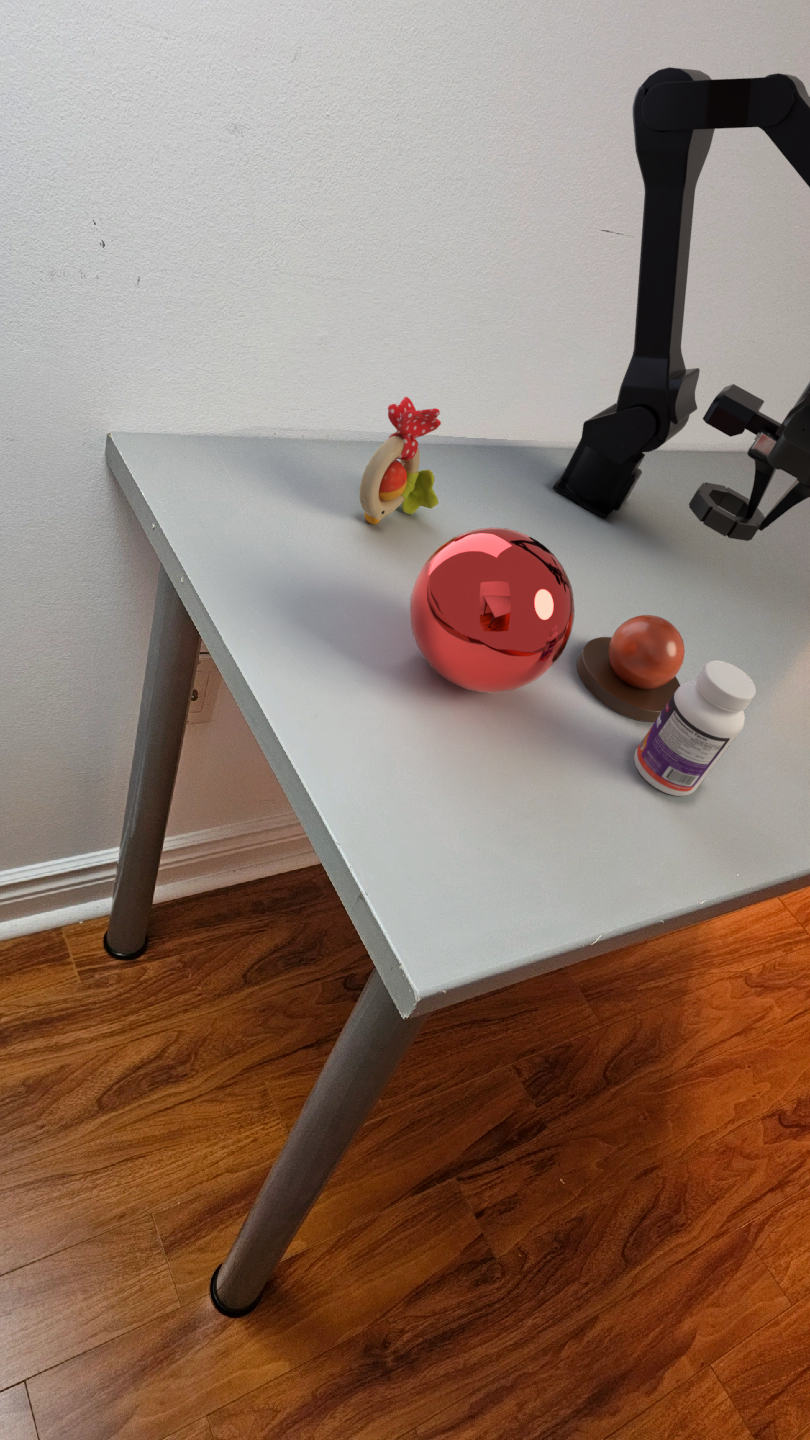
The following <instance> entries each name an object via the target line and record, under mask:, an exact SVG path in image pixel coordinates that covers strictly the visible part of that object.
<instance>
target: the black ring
mask: <svg viewBox="0 0 810 1440" xmlns="http://www.w3.org/2000/svg"><path fill="white" fill-rule="evenodd" d="M749 500H750V498H748V497H747V496H745V495H743V494H741V493H740V492H738V491H736V490H734V489H732V488H731V487H729V486H727V487H726V485H722V484H717V483H712V482H702V483H701V484H700V485H699V487H698V489H697V490H696V491H695V493H694V495H693V496H692V498H691V499H690V501H689V503H688V508H689V509H690V511H691V512H692V513H693V514H694V516H695V517H696V518H697V520H698V521H699V522H701V523H703V525H704V526H706V527H707V528H709V529H711V530H713V531H715V532H717V533H718V534H720V535H722V537H727V538H728V539H731V540H739V541H745V542H749V541H752V540H753V539H754V537H755V535H756V534H757V532H758V531H759V527H760V526H761V524H762V522H763V520H764V519H765V517H766V516H765V514H764V513H763V512H762V511H761V510H760V509H759V507H758V508H757V509H756V511H755V513H754V514H753V516H752V517H751V518H750V519H748V518H745V516H746V512H747V508H748V504H749Z"/></svg>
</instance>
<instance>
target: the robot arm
mask: <svg viewBox="0 0 810 1440" xmlns="http://www.w3.org/2000/svg"><path fill="white" fill-rule="evenodd" d="M632 122H633V123H632V125H633V134H634V135H633V136H634V149H635V154H636V158H637V163H638V165H639V170H640V174H641V178H642V181H643V186H644V187H643V188H644V197H643V198H644V199H643V212H642V213H643V214H642V228H641V240H640V241H641V242H640V257H639V269H638V281H637V282H638V283H637V284H638V285H637V299H636V311H635V312H636V313H635V327H634V339H633V340H634V343H633V351H632V355H631V358H630V361H629V363H628V366H627V369H626V372H625V374H624V377H623V379H622V382H621V384H620V387H619V391H618V395H617V400H616V403H614V404H612V405H610V406H608V407H607V408H605V409H603V410H602V411H600V412H599V413H596V414H595V415H593V416H592V417H590V418H588V419H587V420H585V421H584V422H583V424H582V432H581V438H580V439H579V442H578V443H577V446H576V448H575V450H574V452H573V453H572V455H571V457H570V459H569V461H568V463H567V465H566V467H565V469H564V471H563V473H562V475H561V477H560V478H558V480H556V481H555V482H554V483H553V485H552V489H553V490H555V491H556V492H558V493H559V494H562V495H563V496H565V497H567V498H568V499H570V500H572V501H574V502H575V503H577V504H579V505H581V506H582V507H584V508H585V509H587V510H589V511H590V512H592V513H593V514H595V515H597V516H599V517H601V518H603V519H608V518H609V517H610V516H611V514H612V513H613V512H618V511H620V510H621V508H622V507H623V506H624V505H625V504H626V502H627V500H628V499H629V497H630V495H631V493H632V491H633V490H634V488H635V486H636V484H637V483H638V480H639V479H640V478H641V475H642V474H643V472H642V469H641V468H639V467H640V466H641V464H642V462H643V461H644V459H645V457H646V454H645V453H651V452H652V451H655V450H658V449H659V448H660V447H662V446H663V445H664V444H666V442H668V441H669V440H671V439H672V438H673V437H675V436H677V434H678V433H680V432H681V431H682V430H683V429H684V427H686V426H687V423H688V422H689V420H690V419H689V418H690V416H691V414H693V413H694V412H695V411H697V410H698V405H697V401H696V389H697V385H698V381H699V377H700V371H701V370H700V368H699V367H696V368H695V367H694V368H686V364H685V361H684V357H683V353H682V340H683V339H682V338H683V328H684V317H685V305H686V295H687V284H688V272H689V262H690V250H691V240H692V228H693V219H694V206H695V195H696V187H697V183H698V181H699V178H700V176H701V173H702V170H703V167H704V165H705V162H706V160H707V157H708V154H709V152H710V150H711V146H712V142H713V138H714V134H715V130H718V129H740V128H741V129H743V128H744V129H745V128H759V129H760V130H762V131H763V132H764V133H765V134H766V135H767V137H768V138H769V139H770V141H771V142H772V143H773V144H774V146H776V148H777V150H779V151H780V153H781V154H782V156H784V158H785V159H786V160H787V161H788V163H789V164H790V165H791V167H792V168H793V169H794V170H795V172H796V173H797V174H798V176H799V177H800V178H801V179H802V180H803V181H804V183H805V184H806V185H807V187H808V188H809V189H810V95H809V93H808V91H807V89H806V86H805V84H804V82H803V81H802V80H801V79H800V78H798V77H797V76H796V75H792V74H788V73H780V72H779V73H772V74H768V75H765V77H764V76H763V77H761V76H760V77H746V78H744V77H741V78H721V79H720V78H719V79H716V78H715V79H712V78H711V76H710V75H709V74H707V73H704V72H703V71H701V70H699V69H698V70H697V69H691V68H681V67H671V66H669V67H665V68H661V69H658V70H656V71H655V72H654V73H652V74H650V75H649V76H648V77H647V78H646V79H645V80H644V81H643V83H642V84H641V85H640V86H639V87H638V88H637V90H636V93H635V95H634V98H633V103H632ZM764 404H765V400H764V399H762V398H760V397H758V396H756V395H754V394H753V393H751V392H749V391H747V390H745V389H743V388H742V387H740V386H738V385H736V384H735V383H732V384H730V385H727V386H725V387H723V388H722V389H721V390H720V391H719V393H718V394H717V395H716V396H715V397H714V399H713V400H712V402H711V403H710V405H709V406H708V409H707V410H706V412H705V414H704V415H703V417H702V420H703V421H704V423H706V424H707V425H709V426H711V427H712V428H714V429H716V430H718V431H719V432H721V433H723V434H725V435H726V436H728V437H730V438H731V437H735V436H739V435H743V433H744V432H745V430H747V431H748V432H750V433H752V434H754V435H755V437H754V439H753V440H754V442H753V443H752V444H751V446H750V447H749V448H748V450H747V452H746V454H747V456H748V457H749V458H750V459H752V460H753V461H754V478H753V484H752V488H751V493H750V496H749V504H748V508H747V512H746V516H745V518H748V519H750V518H751V517H752V516H753V514H754V513H755V511H756V509H757V508H758V509H759V506H760V504H761V502H762V500H763V498H764V496H765V494H766V492H767V489H768V488H769V486H770V484H771V481H772V479H773V477H774V475H775V473H776V472H777V470H779V471H782V472H785V473H786V474H788V475H791V476H792V477H793V478H795V481H793V483H791V485H790V486H789V487H788V489H787V490H786V491H785V492H784V494H783V495H782V496H781V497H780V498H779V499H778V500H777V502H776V503H774V505H773V506H772V508H771V509H770V510H769V511H768V512H767V514H766V516H764V517H765V519H764V520H763V522H762V524H761V526H760V527H759V529H758V531H761V532H762V531H764V530H765V529H766V528H768V527H769V526H770V525H771V524H772V523H774V522H775V521H777V520H778V519H779V518H780V517H781V516H783V515H784V514H786V513H787V512H788V511H789V510H791V509H792V508H793V507H795V506H796V505H798V504H799V503H801V502H803V501H806V500H807V499H809V498H810V381H809V382H808V383H807V384H806V386H805V388H804V389H803V391H802V393H801V394H800V396H799V397H798V398H797V400H796V401H795V404H794V405H793V406H792V408H791V409H790V410H789V412H788V413H787V415H786V416H785V418H784V419H783V421H782V422H779V421H777V420H775V419H773V418H772V417H770V416H768V415H767V414H765V413H762V412H761V408H762V407H763V405H764Z"/></svg>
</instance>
